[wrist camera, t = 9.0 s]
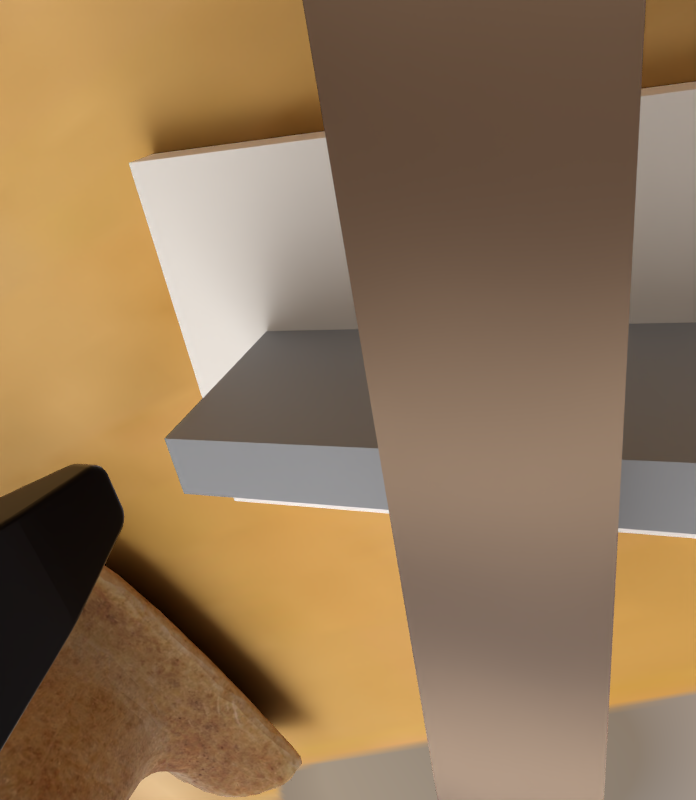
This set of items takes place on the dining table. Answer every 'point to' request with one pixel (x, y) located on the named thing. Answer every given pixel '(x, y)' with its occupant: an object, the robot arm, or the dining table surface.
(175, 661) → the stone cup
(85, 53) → the dining table surface
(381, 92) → the walnut bar
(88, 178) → the dining table surface
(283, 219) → the ridge
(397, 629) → the dining table surface
